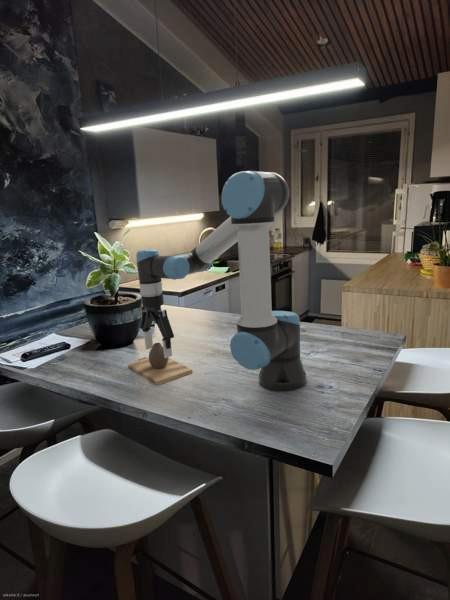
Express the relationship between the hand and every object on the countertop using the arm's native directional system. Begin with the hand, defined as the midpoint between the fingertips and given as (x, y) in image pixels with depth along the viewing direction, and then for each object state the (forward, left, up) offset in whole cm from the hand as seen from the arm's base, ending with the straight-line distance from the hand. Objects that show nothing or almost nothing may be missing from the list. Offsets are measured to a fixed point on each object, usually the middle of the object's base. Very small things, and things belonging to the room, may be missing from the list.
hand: (158, 352), depth 145 cm
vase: (0, 0, -6) cm, 6 cm away
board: (+2, 0, -7) cm, 7 cm away
